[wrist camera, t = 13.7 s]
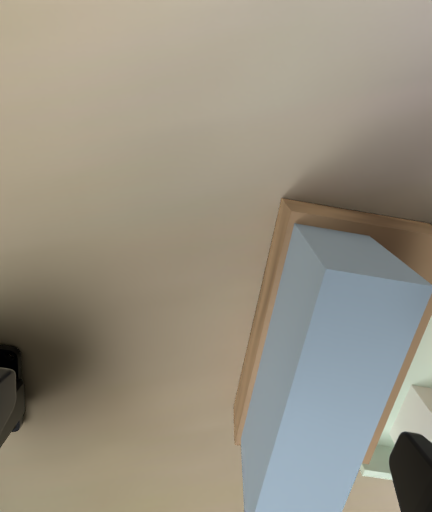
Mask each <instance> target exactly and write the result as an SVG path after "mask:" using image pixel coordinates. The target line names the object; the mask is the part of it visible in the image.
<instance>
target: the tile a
mask: <svg viewBox="0 0 432 512" xmlns="http://www.w3.org/2000/svg"><path fill="white" fill-rule="evenodd" d="M404 431H407V432H413V433H418V434H421V435H423V436H424V437H425V438H427V439H428V440H429V441H430V442H431V443H432V388H427V387H421V386H415V385H411V386H410V389H409V391H408V393H407V395H406V397H405V400H404V402H403V404H402V406H401V409H400V411H399V413H398V415H397V417H396V420H395V422H394V424H393V426H392V429H391V431H390V433H389V435H390V436H391V438H392V440H393V442H394V444H395V443H396V441H397V439H398V436H399V435H400V433H402V432H404Z"/></svg>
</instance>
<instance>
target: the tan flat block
mask: <svg viewBox="0 0 432 512" xmlns="http://www.w3.org/2000/svg"><path fill="white" fill-rule="evenodd" d="M294 223H296V224H302V225H308V226H314V227H320V228H325V229H331V230H337V231H343V232H349V233H355V234H361V235H367V236H370V237H371V238H373V239H374V240H375V241H377V242H378V243H379V244H380V245H382V246H383V247H384V248H386V249H387V250H388V251H389V252H391V253H392V254H393V255H394V256H396V257H397V258H398V259H400V260H401V261H402V262H403V263H405V264H406V265H407V266H409V267H410V268H411V269H412V270H414V271H415V272H416V273H418V274H419V275H420V276H421V277H423V278H424V279H425V280H426V281H428V282H429V283H430V284H432V225H431V224H429V223H424V222H418V221H413V220H407V219H401V218H395V217H389V216H383V215H377V214H372V213H366V212H360V211H354V210H348V209H342V208H336V207H331V206H325V205H319V204H313V203H307V202H301V201H296V200H290V199H284V198H281V203H280V207H279V212H278V216H277V220H276V225H275V229H274V233H273V238H272V242H271V246H270V251H269V255H268V259H267V264H266V268H265V272H264V277H263V281H262V285H261V290H260V294H259V298H258V303H257V307H256V311H255V316H254V320H253V324H252V329H251V333H250V338H249V342H248V346H247V351H246V355H245V359H244V364H243V368H242V372H241V377H240V381H239V385H238V390H237V394H236V398H235V403H234V440H235V445H240V446H241V436H242V432H243V428H244V424H245V420H246V416H247V412H248V408H249V404H250V400H251V396H252V392H253V388H254V384H255V380H256V376H257V372H258V368H259V364H260V360H261V356H262V352H263V348H264V344H265V340H266V336H267V332H268V328H269V324H270V320H271V316H272V312H273V307H274V303H275V299H276V295H277V291H278V287H279V283H280V279H281V275H282V271H283V267H284V263H285V259H286V255H287V251H288V247H289V243H290V239H291V235H292V231H293V227H294ZM431 315H432V294H431V296H430V299H429V301H428V303H427V306H426V308H425V311H424V313H423V316H422V318H421V320H420V323H419V325H418V328H417V330H416V333H415V335H414V337H413V340H412V342H411V345H410V347H409V350H408V352H407V354H406V357H405V359H404V362H403V364H402V367H401V369H400V372H399V374H398V376H397V379H396V381H395V384H394V386H393V389H392V391H391V393H390V396H389V398H388V401H387V403H386V406H385V408H384V410H383V413H382V415H381V418H380V420H379V423H378V425H377V427H376V430H375V432H374V435H373V437H372V440H371V442H370V444H369V447H368V449H367V452H366V454H365V457H364V459H363V462H362V464H369V463H370V460H371V458H372V456H373V453H374V451H375V448H376V446H377V444H378V441H379V439H380V437H381V434H382V432H383V429H384V427H385V425H386V422H387V420H388V418H389V415H390V413H391V410H392V408H393V406H394V403H395V401H396V399H397V396H398V394H399V391H400V389H401V387H402V384H403V382H404V380H405V377H406V375H407V372H408V370H409V368H410V365H411V363H412V361H413V358H414V356H415V353H416V351H417V349H418V346H419V344H420V342H421V339H422V337H423V334H424V332H425V330H426V327H427V325H428V323H429V320H430V318H431Z"/></svg>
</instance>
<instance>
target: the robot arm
mask: <svg viewBox="0 0 432 512" xmlns="http://www.w3.org/2000/svg"><path fill="white" fill-rule="evenodd" d="M10 354H12V355H13V356H11V355H10ZM24 412H25V395H24V382H23V380H22V366H21V352H20V350H19V349H17V348H16V347H13V346H6V345H0V447H1V446H2V444H3V443H4V442H5V440H6V439H7V437H8V436H9V434H10V433H11V432H16V431H18V430H19V429H20V427H21V426H22V424H23V414H24ZM389 468H390V472H391V476H392V480H393V483H394V487H395V491H396V495H397V499H398V502H399V506H400V510H401V512H432V443H431V442H430V441H429V440H428V439H427V438H425V437H424V436H423V435H421V434H418V433H413V432H407V431H404V432H402V433H400V435H399V436H398V439H397V441H396V443H395V445H394V447H393V450H392V452H391V454H390V457H389Z"/></svg>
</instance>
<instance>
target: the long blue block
mask: <svg viewBox="0 0 432 512" xmlns="http://www.w3.org/2000/svg"><path fill="white" fill-rule="evenodd" d="M431 294H432V284H430V283H429V282H428V281H426V280H425V279H424V278H423V277H421V276H420V275H419V274H418V273H416V272H415V271H414V270H412V269H411V268H410V267H409V266H407V265H406V264H405V263H403V262H402V261H401V260H400V259H398V258H397V257H396V256H394V255H393V254H392V253H391V252H389V251H388V250H387V249H386V248H384V247H383V246H382V245H380V244H379V243H378V242H377V241H375V240H374V239H373V238H371V237H370V236H367V235H361V234H355V233H349V232H343V231H337V230H331V229H325V228H320V227H314V226H308V225H302V224H296V223H294V227H293V231H292V235H291V239H290V243H289V247H288V251H287V255H286V259H285V263H284V267H283V271H282V275H281V279H280V283H279V287H278V291H277V295H276V299H275V303H274V307H273V312H272V316H271V320H270V324H269V328H268V332H267V336H266V340H265V344H264V348H263V352H262V356H261V360H260V364H259V368H258V372H257V376H256V380H255V384H254V388H253V392H252V396H251V400H250V404H249V408H248V412H247V416H246V420H245V424H244V428H243V432H242V436H241V454H242V474H243V494H244V512H342V510H343V508H344V505H345V503H346V500H347V498H348V496H349V493H350V491H351V488H352V486H353V483H354V481H355V479H356V476H357V474H358V471H359V469H360V466H361V464H362V462H363V459H364V457H365V454H366V452H367V449H368V447H369V444H370V442H371V440H372V437H373V435H374V432H375V430H376V427H377V425H378V423H379V420H380V418H381V415H382V413H383V410H384V408H385V406H386V403H387V401H388V398H389V396H390V393H391V391H392V389H393V386H394V384H395V381H396V379H397V376H398V374H399V372H400V369H401V367H402V364H403V362H404V359H405V357H406V354H407V352H408V350H409V347H410V345H411V342H412V340H413V337H414V335H415V333H416V330H417V328H418V325H419V323H420V320H421V318H422V316H423V313H424V311H425V308H426V306H427V303H428V301H429V299H430V296H431Z"/></svg>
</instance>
